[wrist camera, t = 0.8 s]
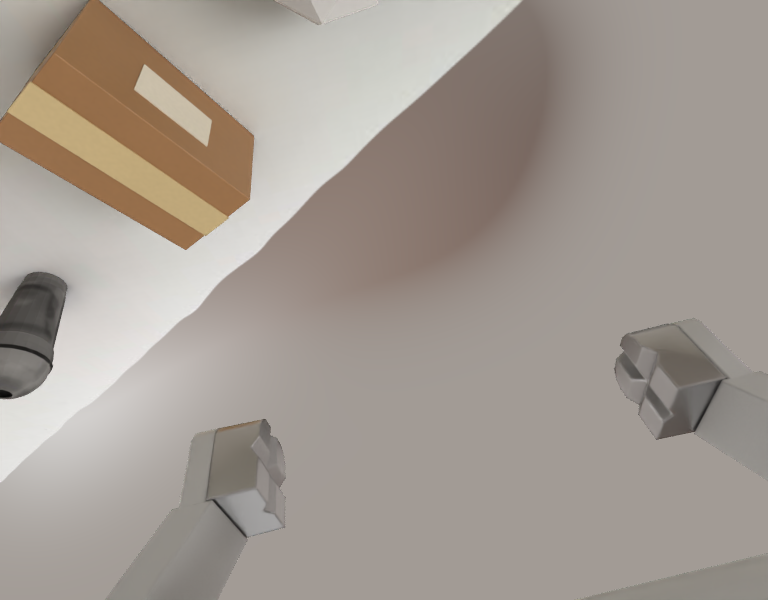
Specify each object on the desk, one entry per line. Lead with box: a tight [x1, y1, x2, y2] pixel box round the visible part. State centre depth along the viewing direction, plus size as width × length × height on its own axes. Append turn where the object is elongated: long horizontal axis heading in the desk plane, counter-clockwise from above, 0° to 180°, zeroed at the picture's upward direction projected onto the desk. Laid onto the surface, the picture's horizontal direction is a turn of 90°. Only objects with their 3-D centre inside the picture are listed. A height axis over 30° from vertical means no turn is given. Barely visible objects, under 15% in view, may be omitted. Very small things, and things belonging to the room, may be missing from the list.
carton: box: [0, 0, 254, 250], centre depth 39 cm, size 9×16×10 cm, turn 36°
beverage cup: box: [0, 272, 67, 399], centre depth 52 cm, size 7×7×20 cm
